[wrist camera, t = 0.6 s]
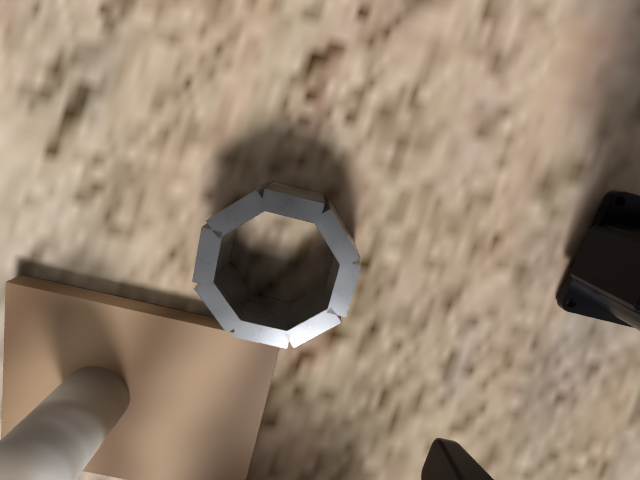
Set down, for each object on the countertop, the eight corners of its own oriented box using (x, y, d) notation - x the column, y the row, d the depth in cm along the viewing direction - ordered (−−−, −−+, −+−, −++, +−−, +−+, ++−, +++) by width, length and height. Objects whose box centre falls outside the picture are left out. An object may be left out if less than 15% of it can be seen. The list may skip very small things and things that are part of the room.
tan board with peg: (282, 333, 20) (267, 412, 14) (243, 485, 22) (218, 604, 17) (21, 274, 19) (-111, 333, 13) (15, 441, 21) (-97, 551, 16)
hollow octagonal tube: (366, 205, 18) (376, 216, 15) (330, 327, 20) (333, 359, 17) (228, 169, 17) (210, 175, 14) (204, 298, 19) (184, 326, 16)
